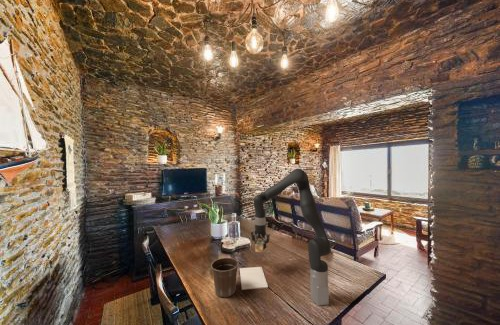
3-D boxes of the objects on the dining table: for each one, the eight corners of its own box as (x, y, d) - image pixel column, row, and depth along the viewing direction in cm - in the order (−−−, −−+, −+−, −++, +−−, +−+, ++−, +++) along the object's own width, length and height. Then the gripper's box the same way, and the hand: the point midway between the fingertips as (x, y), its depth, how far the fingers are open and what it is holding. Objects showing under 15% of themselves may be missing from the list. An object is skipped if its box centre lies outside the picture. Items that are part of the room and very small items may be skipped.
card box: (265, 247, 139) (265, 239, 139) (262, 252, 130) (262, 244, 130) (258, 246, 140) (258, 238, 140) (255, 251, 132) (255, 243, 132)
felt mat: (268, 287, 119) (268, 286, 119) (241, 289, 117) (241, 288, 117) (261, 267, 143) (261, 266, 143) (239, 268, 141) (239, 268, 141)
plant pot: (205, 291, 116) (205, 263, 117) (227, 279, 128) (227, 255, 128) (222, 304, 105) (221, 274, 105) (244, 291, 116) (244, 263, 116)
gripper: (271, 223, 135) (272, 247, 135) (253, 220, 142) (253, 244, 142) (267, 226, 129) (268, 252, 128) (248, 223, 135) (248, 248, 135)
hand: (260, 247), depth 135 cm, fingers closed on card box, 5 cm apart
